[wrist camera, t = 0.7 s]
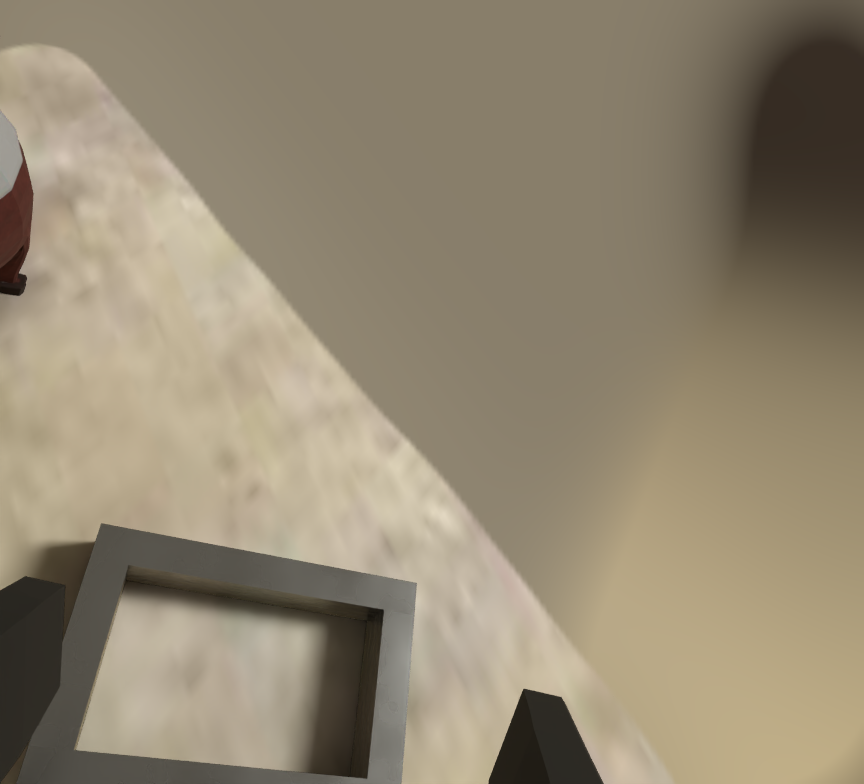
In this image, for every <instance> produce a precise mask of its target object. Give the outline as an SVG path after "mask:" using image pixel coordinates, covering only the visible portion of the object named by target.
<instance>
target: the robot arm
mask: <svg viewBox="0 0 864 784" xmlns="http://www.w3.org/2000/svg"><path fill="white" fill-rule="evenodd" d="M64 599H65V585H62V584H58V583H53V582H49V581H44V580H40V579H35V578H31V577H27V576H25V577H23V578H22V579H20V580H18V581H16V582H15V583H13V584H11V585H9V586H7V587H6V588H4V589H2V590H0V783H1V781H2V780H3V778H4V777H5V776H6V774H7V773H8V772H9V770H10V769H11V767H12V766H13V765H14V763H15V762H16V760H17V759H18V757H19V756H20V755H21V753H22V752H23V750H24V748H25V747H26V745H27V743H28V742H29V740H30V738H31V737H32V735H33V733H34V731H35V730H36V728H37V726H38V725H39V723H40V721H41V719H42V718H43V716H44V714H45V712H46V710H47V709H48V707H49V705H50V703H51V702H52V700H53V698H54V696H55V694H56V693H57V691H58V689H59V687H60V679H61V659H62V639H63V619H64ZM489 784H604V783H603V781H602V779H601V777H600V775H599V773H598V771H597V769H596V767H595V765H594V763H593V761H592V759H591V757H590V755H589V753H588V751H587V749H586V747H585V744H584V742H583V740H582V738H581V736H580V734H579V732H578V730H577V728H576V725H575V723H574V721H573V719H572V717H571V715H570V713H569V710H568V708H567V706H566V704H565V702H564V701H563V699H562V697H558V696H554V695H549V694H545V693H541V692H536V691H532V690H527V689H523V691H522V694H521V697H520V699H519V702H518V705H517V707H516V710H515V712H514V715H513V718H512V720H511V723H510V726H509V728H508V731H507V734H506V736H505V739H504V741H503V744H502V747H501V749H500V752H499V755H498V757H497V760H496V763H495V765H494V768H493V771H492V773H491V776H490V778H489Z"/></svg>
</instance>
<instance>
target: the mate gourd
mask: <svg viewBox="0 0 864 784" xmlns="http://www.w3.org/2000/svg"><path fill="white" fill-rule="evenodd" d="M32 210H33V190H32V185H31V181H30V176H29V172H28V168H27V164H26V160H25V157H24V153H23V149H22V147H21V145H20V142H19V140H18V137H17V132H16V129H15V127H14V126H13V125H12V123H11V122H10V121H9V120H8V119H7V118H6V116H5V115H4V114H3V113H2V112H1V110H0V292H1V293H5V294H12V295H18V296H20V295H21V294H22V293H23V292H24V289H25V286H26V280H27V277H26V275H23V274H19V271H20V269H21V267H22V265H23V263H24V260H25V258H26V255H27V252H28V250H29V245H30V231H31V220H32Z"/></svg>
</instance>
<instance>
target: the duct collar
mask: <svg viewBox="0 0 864 784" xmlns="http://www.w3.org/2000/svg"><path fill="white" fill-rule="evenodd" d="M126 580H127V581H133V582H139V583H145V584H151V585H157V586H163V587H169V588H175V589H181V590H187V591H193V592H198V593H204V594H210V595H216V596H222V597H228V598H234V599H240V600H246V601H252V602H258V603H264V604H270V605H276V606H282V607H288V608H294V609H299V610H305V611H311V612H317V613H323V614H329V615H335V616H341V617H347V618H353V619H359V620H365V621H367V625H366V634H365V643H364V652H363V662H362V671H361V680H360V689H359V698H358V707H357V716H356V725H355V734H354V743H353V752H352V761H351V770H350V777H343V776H333V775H323V774H312V773H302V772H292V771H282V770H271V769H261V768H251V767H241V766H230V765H220V764H210V763H200V762H189V761H179V760H169V759H159V758H148V757H138V756H128V755H118V754H107V753H97V752H87V751H77V750H76V747H77V744H78V740H79V737H80V734H81V730H82V727H83V724H84V720H85V717H86V713H87V710H88V707H89V703H90V700H91V696H92V693H93V690H94V686H95V683H96V679H97V676H98V673H99V669H100V666H101V663H102V659H103V656H104V652H105V649H106V646H107V642H108V639H109V635H110V632H111V629H112V625H113V622H114V618H115V615H116V612H117V608H118V605H119V602H120V598H121V595H122V591H123V588H124V585H125V581H126ZM416 586H417V583H414V582H408V581H403V580H398V579H392V578H387V577H382V576H377V575H371V574H366V573H361V572H355V571H350V570H345V569H340V568H334V567H329V566H324V565H318V564H313V563H308V562H303V561H297V560H292V559H287V558H282V557H276V556H271V555H266V554H260V553H255V552H250V551H245V550H239V549H234V548H229V547H223V546H218V545H213V544H208V543H202V542H197V541H192V540H186V539H181V538H176V537H171V536H165V535H160V534H155V533H150V532H144V531H139V530H134V529H128V528H123V527H118V526H113V525H107V524H102V523H101V526H100V529H99V532H98V535H97V538H96V541H95V544H94V547H93V550H92V554H91V557H90V560H89V563H88V566H87V569H86V572H85V575H84V578H83V581H82V584H81V587H80V590H79V593H78V596H77V599H76V602H75V605H74V609H73V612H72V615H71V618H70V621H69V624H68V627H67V630H66V633H65V636H64V639H63V642H62V659H61V679H60V687H59V689H58V691H57V693H56V694H55V696H54V698H53V700H52V702H51V703H50V705H49V707H48V709H47V710H46V712H45V714H44V716H43V718H42V719H41V721H40V723H39V725H38V726H37V728H36V730H35V731H34V733H33V735H32V737H31V740H30V743H29V746H28V749H27V752H26V755H25V758H24V761H23V764H22V767H21V770H20V773H19V777H18V780H17V783H16V784H401V782H402V769H403V756H404V743H405V730H406V717H407V704H408V691H409V678H410V665H411V652H412V639H413V626H414V612H415V599H416Z"/></svg>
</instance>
